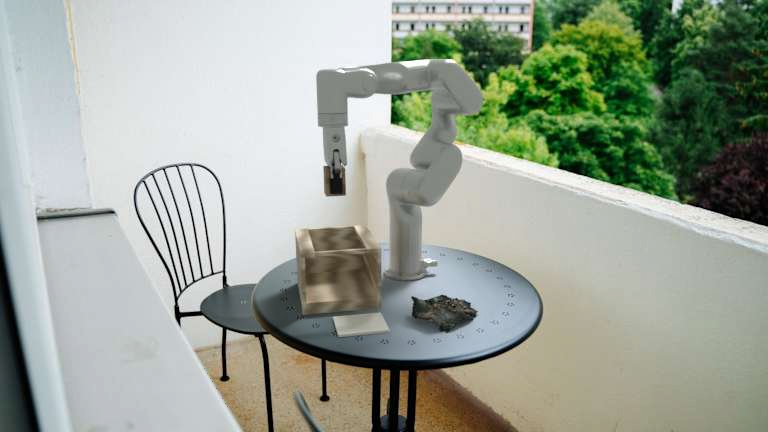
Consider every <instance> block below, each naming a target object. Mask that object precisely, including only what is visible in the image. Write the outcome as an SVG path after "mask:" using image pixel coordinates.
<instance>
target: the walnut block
mask: <svg viewBox="0 0 768 432" xmlns="http://www.w3.org/2000/svg"><path fill="white" fill-rule="evenodd" d="M334 166H335V165H334ZM322 168H323V188H324V189H323V190H324V195H325V196H326V197H341V196H342V197H343V196H347V189H346V187H347V183H346V182H347V181H346V168H345V166H344V165H343V164H341V170H342V181H343V193H341V194H331V193H330V178H331V175H330V167H329V166H327V165H323V166H322Z"/></svg>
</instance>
